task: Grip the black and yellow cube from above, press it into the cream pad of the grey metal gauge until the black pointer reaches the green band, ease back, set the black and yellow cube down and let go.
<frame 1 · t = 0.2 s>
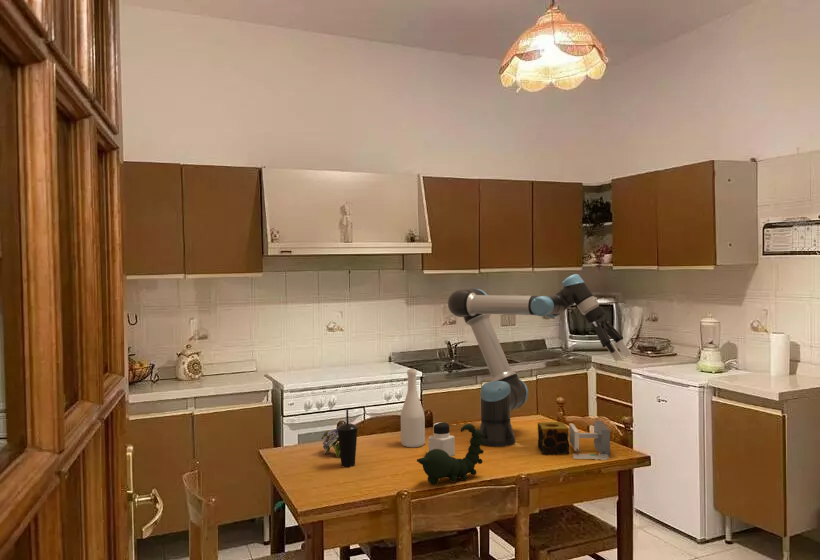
hand: (624, 357, 238), 35 cm above the table, tool tilted 35°, fingers open, 13 cm apart
toy figurine: (450, 481, 209), on the table
medicine bottle: (441, 455, 237), on the table
gauge housing: (583, 451, 239), on the table
wine bottle: (413, 445, 252), on the table
drinking cup: (348, 465, 227), on the table
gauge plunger: (588, 437, 237), point 6 cm above the table, slide at 0.0 cm
black and yellow cube: (553, 451, 240), on the table
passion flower: (336, 454, 241), on the table
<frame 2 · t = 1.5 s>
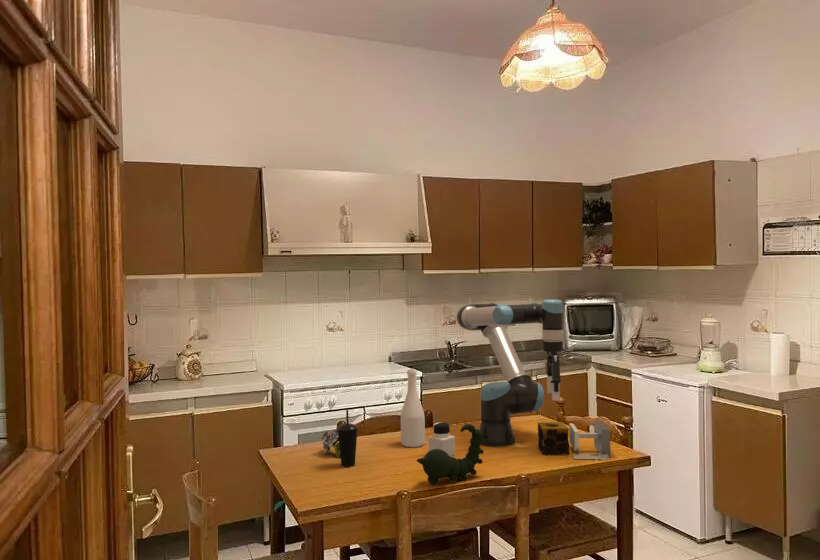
hand: (553, 396, 240), 21 cm above the table, tool pointing down, fingers open, 13 cm apart
nothing on the table moved.
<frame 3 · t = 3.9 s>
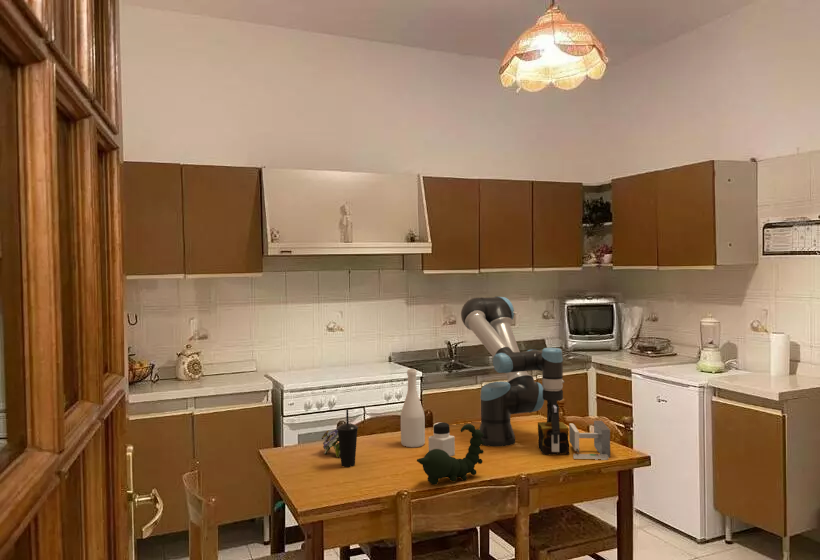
hand: (553, 447, 240), 1 cm above the table, tool pointing down, fingers closed on black and yellow cube, 10 cm apart
black and yellow cube: (553, 451, 240), on the table, touching gripper
everything else where it was.
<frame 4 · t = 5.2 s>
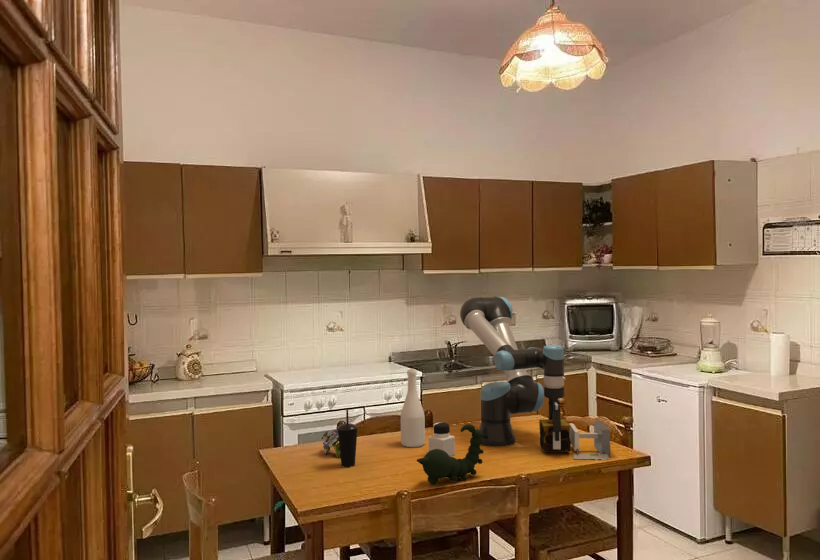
hand: (554, 444, 240), 2 cm above the table, tool pointing down, fingers closed on black and yellow cube, 10 cm apart
black and yellow cube: (554, 449, 240), point 1 cm above the table, touching gripper
everything else where it was.
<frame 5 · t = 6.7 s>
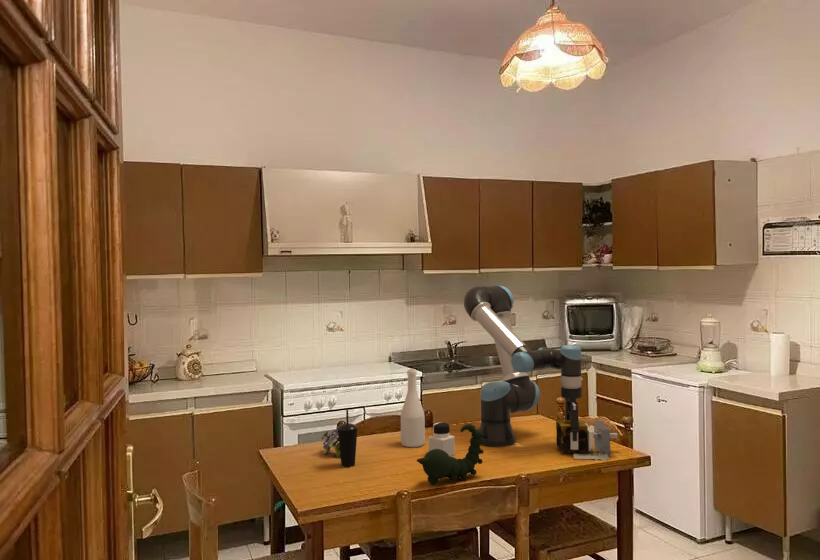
hand: (572, 445, 239), 2 cm above the table, tool pointing down, fingers closed on black and yellow cube, 10 cm apart
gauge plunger: (602, 438, 237), point 5 cm above the table, slide at 5.2 cm
black and yellow cube: (571, 449, 239), point 1 cm above the table, touching gripper
everything else where it was.
when the fingers open (1 cm above the table, at t = 8.8 s): black and yellow cube stays where it is, on the table.
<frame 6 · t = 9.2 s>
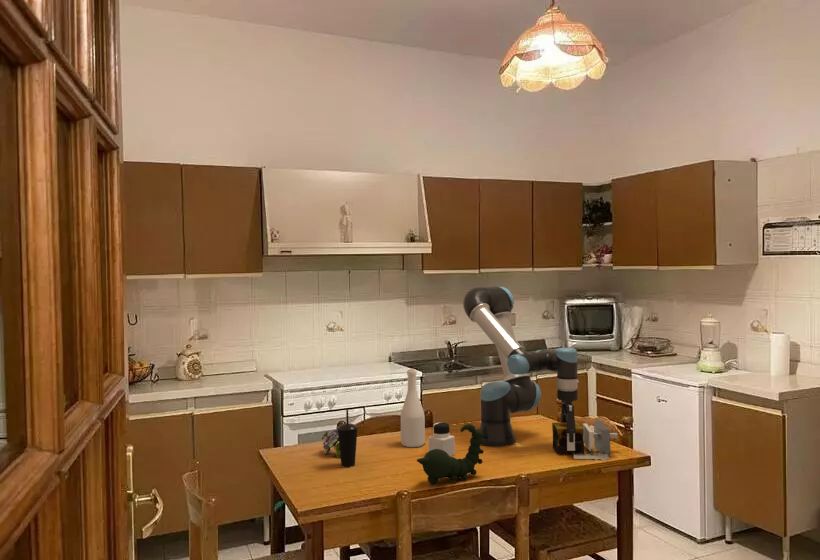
hand: (568, 445, 240), 2 cm above the table, tool pointing down, fingers open, 13 cm apart
black and yellow cube: (568, 452, 240), on the table
everything else where it was.
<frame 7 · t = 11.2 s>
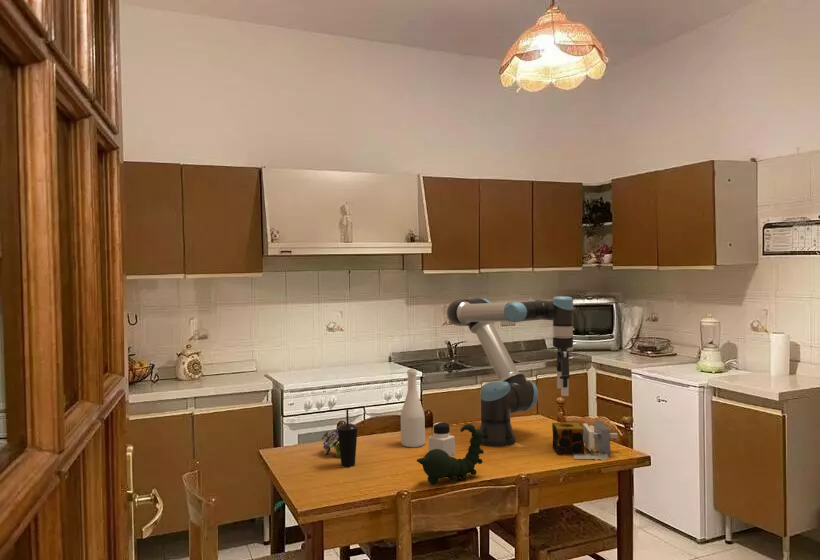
hand: (562, 392, 243), 22 cm above the table, tool pointing down, fingers open, 13 cm apart
nothing on the table moved.
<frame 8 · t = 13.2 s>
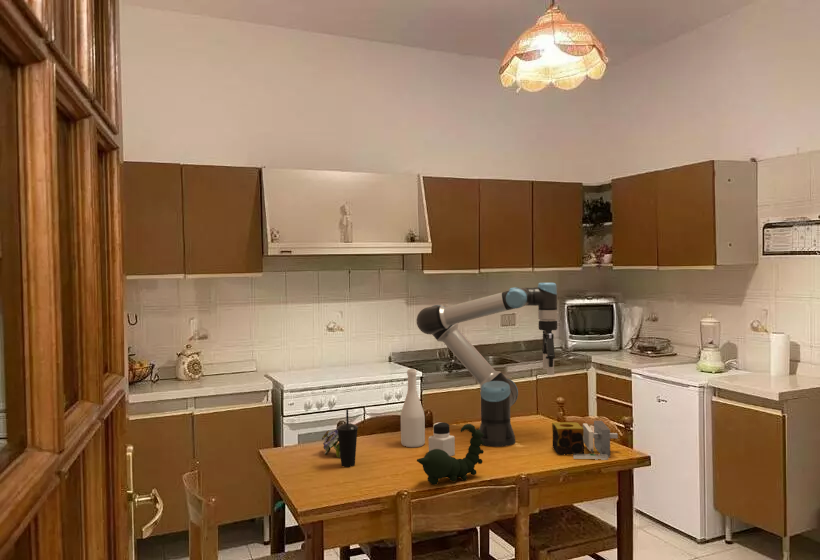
hand: (548, 372, 259), 27 cm above the table, tool pointing down, fingers open, 13 cm apart
nothing on the table moved.
at the end: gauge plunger slide at 5.2 cm; black and yellow cube tilted 0°; the gripper is holding nothing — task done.
